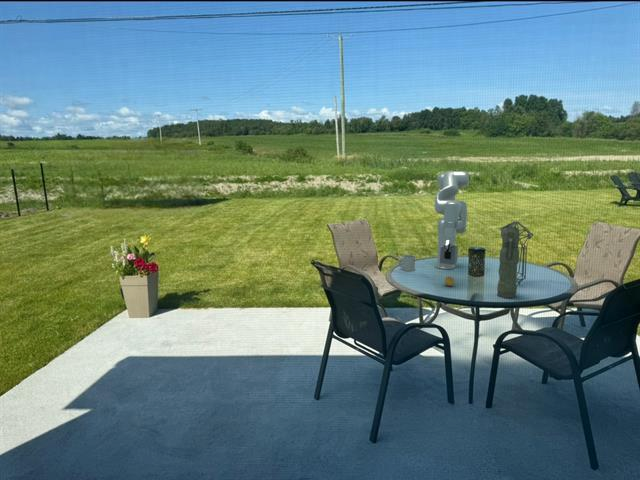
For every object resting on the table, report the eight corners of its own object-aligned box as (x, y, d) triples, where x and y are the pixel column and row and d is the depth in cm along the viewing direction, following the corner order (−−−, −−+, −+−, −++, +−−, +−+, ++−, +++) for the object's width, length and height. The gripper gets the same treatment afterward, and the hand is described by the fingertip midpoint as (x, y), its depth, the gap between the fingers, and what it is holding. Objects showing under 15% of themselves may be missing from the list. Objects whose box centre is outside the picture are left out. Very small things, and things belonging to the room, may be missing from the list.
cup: (413, 271, 277) (414, 257, 275) (397, 270, 279) (398, 256, 278) (415, 269, 283) (415, 255, 282) (399, 268, 286) (399, 254, 285)
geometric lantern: (523, 281, 256) (529, 220, 249) (528, 289, 241) (535, 224, 234) (494, 278, 260) (499, 218, 253) (496, 286, 245) (502, 223, 238)
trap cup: (442, 260, 248) (443, 244, 247) (457, 261, 245) (458, 245, 243) (439, 263, 242) (440, 247, 240) (454, 264, 238) (455, 248, 237)
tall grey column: (498, 298, 223) (503, 228, 217) (495, 292, 234) (500, 225, 228) (517, 300, 221) (523, 229, 214) (514, 293, 232) (519, 226, 226)
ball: (456, 277, 246) (453, 286, 247) (447, 274, 247) (444, 282, 249) (455, 280, 241) (451, 288, 242) (446, 276, 243) (442, 285, 244)
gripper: (446, 222, 249) (445, 253, 252) (440, 226, 234) (438, 259, 237) (460, 223, 246) (459, 255, 249) (454, 227, 230) (453, 261, 233)
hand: (449, 257), depth 243 cm, fingers closed on trap cup, 7 cm apart
